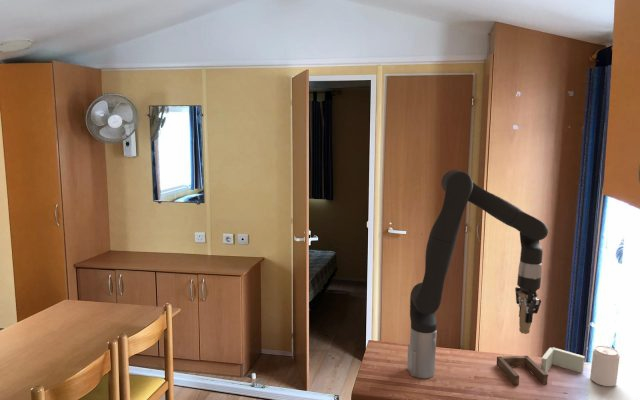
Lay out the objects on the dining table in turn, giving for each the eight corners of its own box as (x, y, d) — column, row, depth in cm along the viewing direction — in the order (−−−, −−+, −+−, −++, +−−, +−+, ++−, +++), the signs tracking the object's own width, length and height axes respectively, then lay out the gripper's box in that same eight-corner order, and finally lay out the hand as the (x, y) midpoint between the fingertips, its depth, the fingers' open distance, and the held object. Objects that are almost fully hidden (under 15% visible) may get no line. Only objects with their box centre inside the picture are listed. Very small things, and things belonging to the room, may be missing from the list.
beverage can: (618, 381, 173) (622, 350, 171) (613, 390, 168) (616, 358, 166) (593, 373, 179) (596, 342, 177) (587, 381, 173) (590, 350, 171)
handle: (536, 335, 173) (540, 295, 170) (518, 335, 172) (521, 294, 170) (530, 329, 177) (533, 290, 175) (512, 329, 177) (516, 290, 175)
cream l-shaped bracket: (542, 374, 177) (543, 359, 176) (529, 362, 186) (530, 348, 185) (585, 373, 179) (586, 357, 178) (570, 361, 188) (572, 346, 187)
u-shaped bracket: (514, 385, 170) (515, 375, 169) (496, 365, 184) (497, 356, 183) (547, 383, 171) (547, 374, 171) (526, 364, 185) (527, 355, 184)
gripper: (509, 268, 178) (505, 312, 181) (529, 280, 164) (525, 328, 167) (529, 268, 179) (525, 312, 181) (551, 280, 165) (546, 328, 167)
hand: (525, 320), depth 174 cm, fingers closed on handle, 4 cm apart
